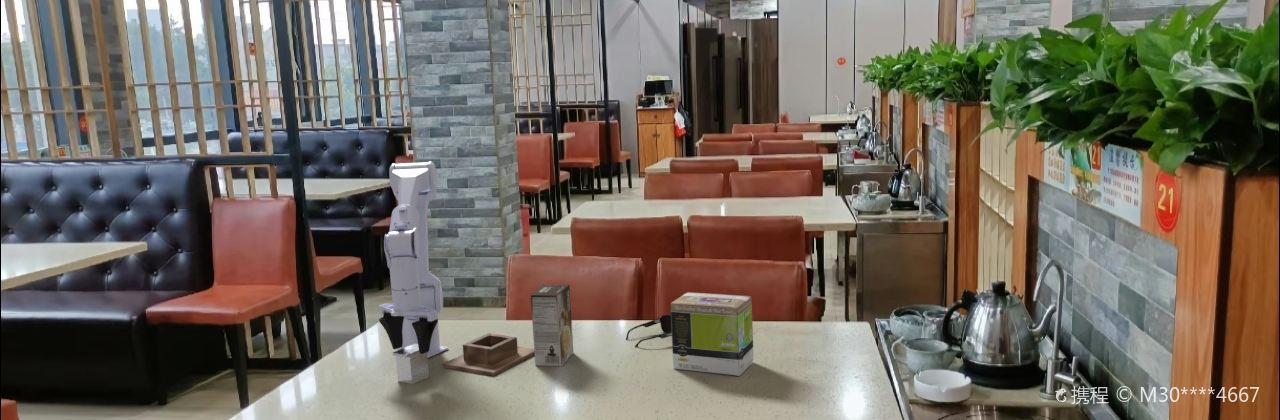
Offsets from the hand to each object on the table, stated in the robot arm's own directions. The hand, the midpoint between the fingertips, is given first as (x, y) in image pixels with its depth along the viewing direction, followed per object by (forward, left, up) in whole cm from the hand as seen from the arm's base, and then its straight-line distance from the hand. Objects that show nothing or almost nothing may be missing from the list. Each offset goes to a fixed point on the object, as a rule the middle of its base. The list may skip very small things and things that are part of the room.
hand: (411, 350), depth 183 cm
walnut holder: (+8, +16, -6) cm, 19 cm away
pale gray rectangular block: (0, 0, -6) cm, 6 cm away
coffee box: (+21, +22, -7) cm, 31 cm away
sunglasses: (+35, +43, -7) cm, 55 cm away
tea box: (+55, +32, -7) cm, 64 cm away
